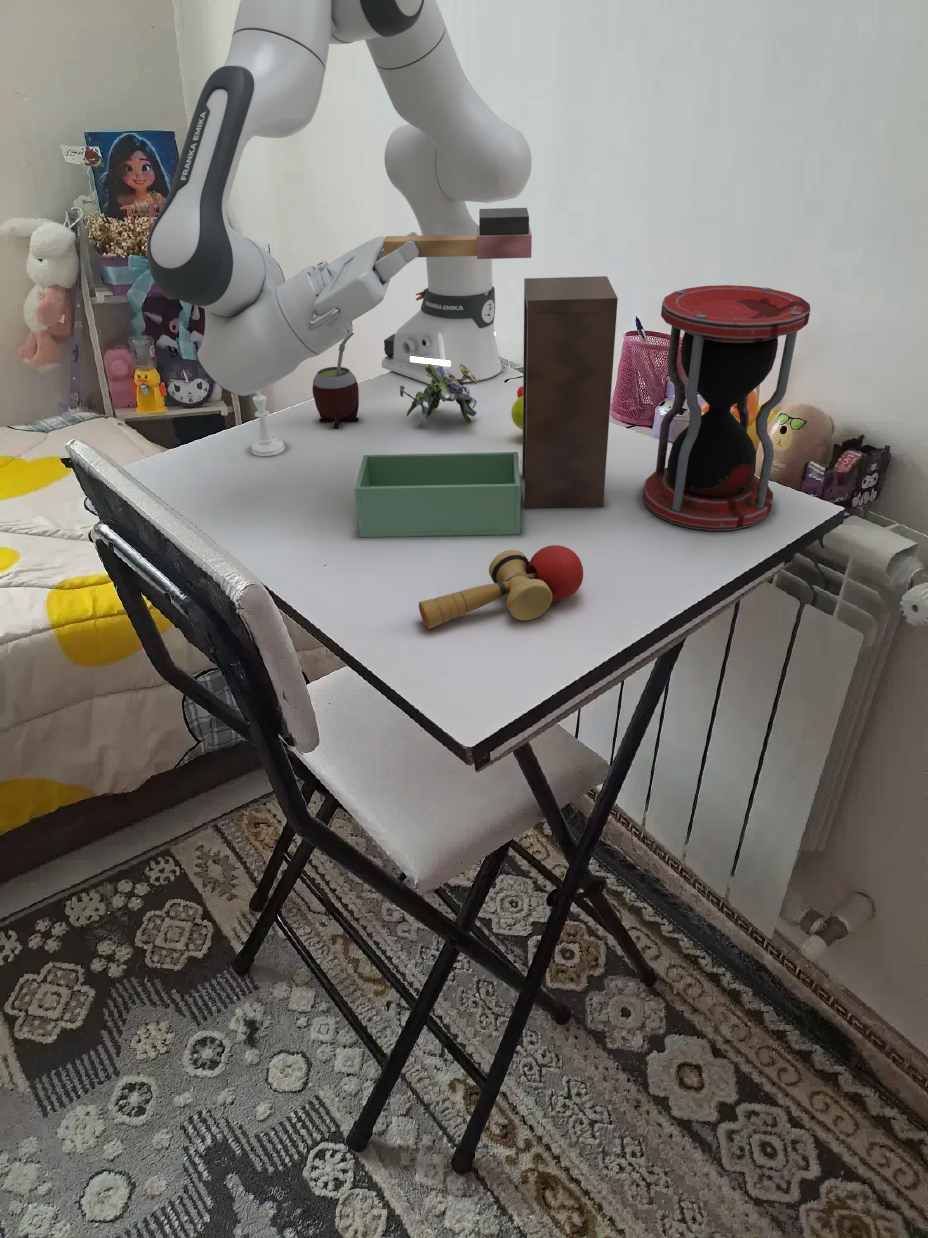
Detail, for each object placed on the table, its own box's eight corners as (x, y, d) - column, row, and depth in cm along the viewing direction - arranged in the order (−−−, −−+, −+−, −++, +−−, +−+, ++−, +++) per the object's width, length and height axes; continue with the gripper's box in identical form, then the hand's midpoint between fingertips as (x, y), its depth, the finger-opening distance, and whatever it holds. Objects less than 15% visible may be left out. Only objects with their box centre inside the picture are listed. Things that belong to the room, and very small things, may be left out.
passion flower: (467, 452, 139) (496, 406, 128) (404, 454, 134) (429, 406, 124) (449, 395, 142) (476, 346, 132) (388, 394, 138) (410, 343, 128)
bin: (359, 537, 106) (354, 488, 102) (368, 501, 114) (363, 454, 110) (520, 534, 105) (520, 485, 101) (517, 498, 113) (517, 451, 109)
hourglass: (730, 545, 101) (766, 331, 87) (617, 504, 111) (634, 305, 96) (794, 498, 111) (836, 298, 96) (685, 464, 120) (709, 276, 106)
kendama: (442, 661, 87) (601, 601, 90) (427, 607, 84) (592, 547, 87) (421, 631, 93) (569, 577, 97) (406, 580, 91) (560, 526, 94)
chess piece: (290, 444, 130) (280, 379, 124) (276, 457, 126) (265, 391, 120) (260, 441, 131) (249, 377, 125) (245, 454, 127) (233, 389, 121)
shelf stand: (525, 508, 111) (527, 300, 96) (522, 474, 119) (524, 278, 104) (603, 506, 110) (617, 297, 96) (594, 473, 119) (607, 275, 104)
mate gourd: (321, 413, 140) (309, 319, 131) (369, 412, 140) (360, 318, 131) (312, 431, 134) (299, 333, 125) (363, 430, 133) (353, 333, 125)
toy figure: (553, 463, 121) (555, 418, 118) (514, 465, 122) (514, 419, 118) (543, 415, 136) (544, 374, 132) (508, 417, 136) (508, 375, 132)
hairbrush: (382, 261, 96) (379, 220, 93) (387, 249, 100) (384, 210, 98) (531, 257, 95) (532, 216, 93) (528, 246, 100) (529, 206, 98)
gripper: (286, 307, 91) (394, 234, 87) (316, 263, 108) (408, 200, 104) (322, 358, 94) (428, 290, 90) (346, 307, 111) (436, 248, 107)
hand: (417, 241), depth 97 cm, fingers closed on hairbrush, 3 cm apart
